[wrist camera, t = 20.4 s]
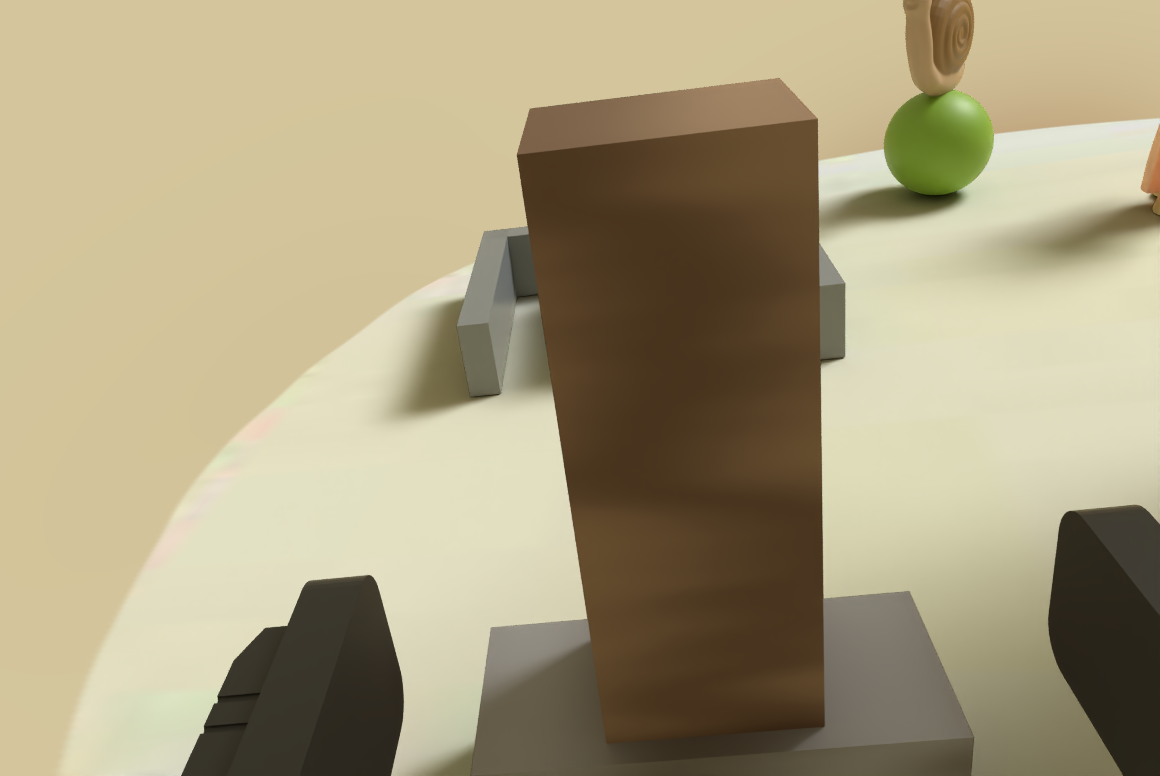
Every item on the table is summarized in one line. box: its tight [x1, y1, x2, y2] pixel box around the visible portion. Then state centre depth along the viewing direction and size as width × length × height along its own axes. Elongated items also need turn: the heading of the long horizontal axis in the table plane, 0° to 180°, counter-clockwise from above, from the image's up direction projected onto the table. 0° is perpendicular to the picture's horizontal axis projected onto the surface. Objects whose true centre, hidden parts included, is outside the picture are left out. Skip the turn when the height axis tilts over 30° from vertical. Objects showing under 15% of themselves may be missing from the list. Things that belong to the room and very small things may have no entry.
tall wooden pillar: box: [470, 78, 974, 776], centre depth 18 cm, size 9×4×14 cm, turn 89°
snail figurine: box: [884, 0, 994, 195], centre depth 50 cm, size 5×6×12 cm
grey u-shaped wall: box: [456, 226, 845, 397], centre depth 42 cm, size 14×11×3 cm
